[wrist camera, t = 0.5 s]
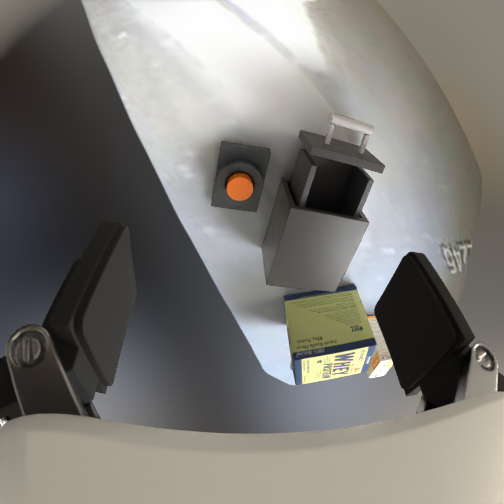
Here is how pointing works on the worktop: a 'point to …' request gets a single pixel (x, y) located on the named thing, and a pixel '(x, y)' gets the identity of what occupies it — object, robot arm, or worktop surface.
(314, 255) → the dark grey cabinet
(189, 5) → the worktop surface
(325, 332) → the protein box
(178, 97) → the worktop surface
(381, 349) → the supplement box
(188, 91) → the worktop surface
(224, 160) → the block
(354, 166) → the drawer
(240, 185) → the button
